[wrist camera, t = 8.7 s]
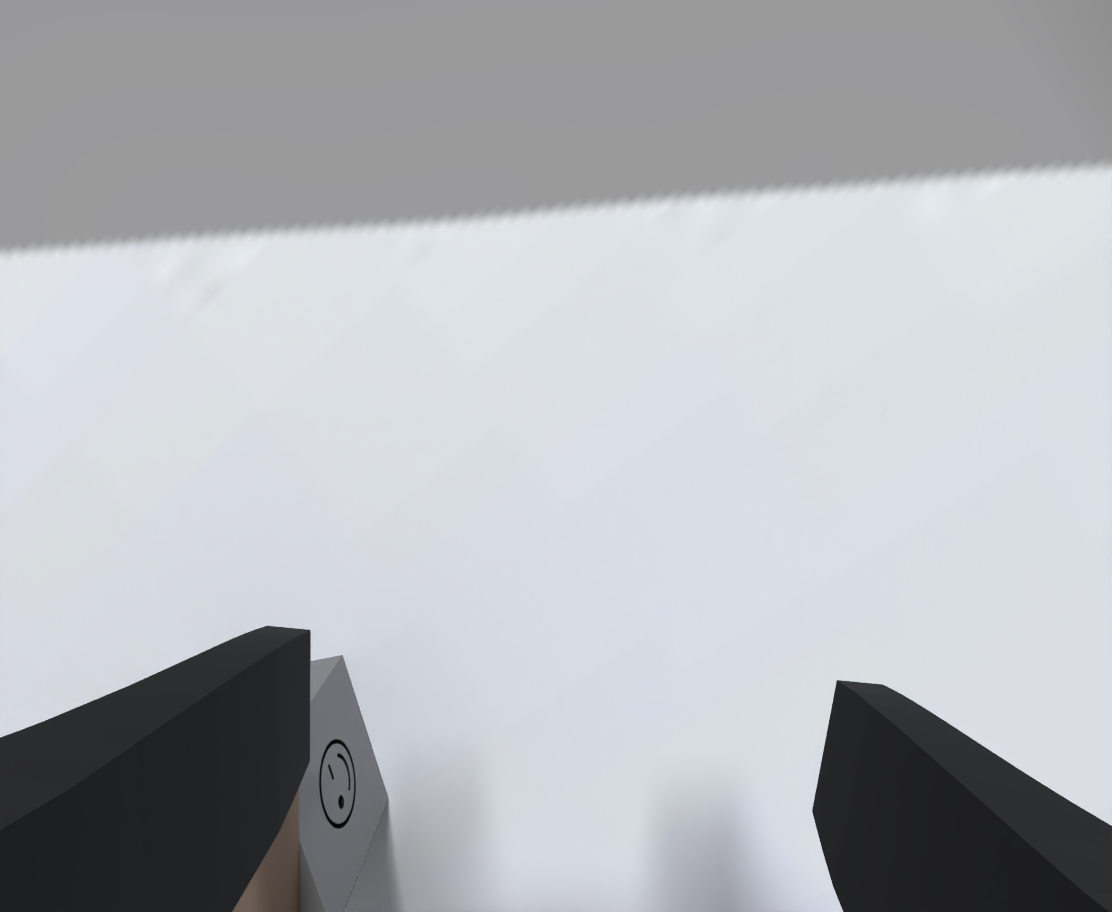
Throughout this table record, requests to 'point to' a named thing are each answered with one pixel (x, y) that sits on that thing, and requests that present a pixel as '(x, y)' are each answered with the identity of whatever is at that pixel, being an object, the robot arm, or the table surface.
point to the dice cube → (336, 791)
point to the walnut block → (277, 872)
